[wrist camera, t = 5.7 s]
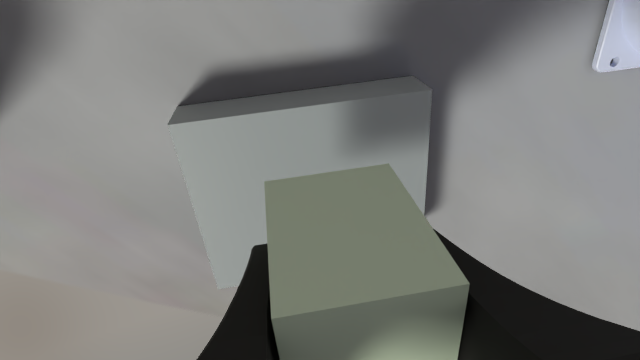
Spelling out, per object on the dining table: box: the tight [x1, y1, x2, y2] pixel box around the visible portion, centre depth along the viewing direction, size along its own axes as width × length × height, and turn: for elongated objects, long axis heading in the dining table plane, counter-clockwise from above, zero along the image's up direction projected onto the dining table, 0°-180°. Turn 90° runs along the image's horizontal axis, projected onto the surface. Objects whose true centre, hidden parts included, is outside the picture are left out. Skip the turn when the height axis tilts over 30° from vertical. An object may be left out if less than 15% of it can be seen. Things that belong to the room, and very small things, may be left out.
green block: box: [264, 163, 470, 360], centre depth 12 cm, size 4×4×6 cm
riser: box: [167, 76, 432, 289], centre depth 21 cm, size 12×10×2 cm
